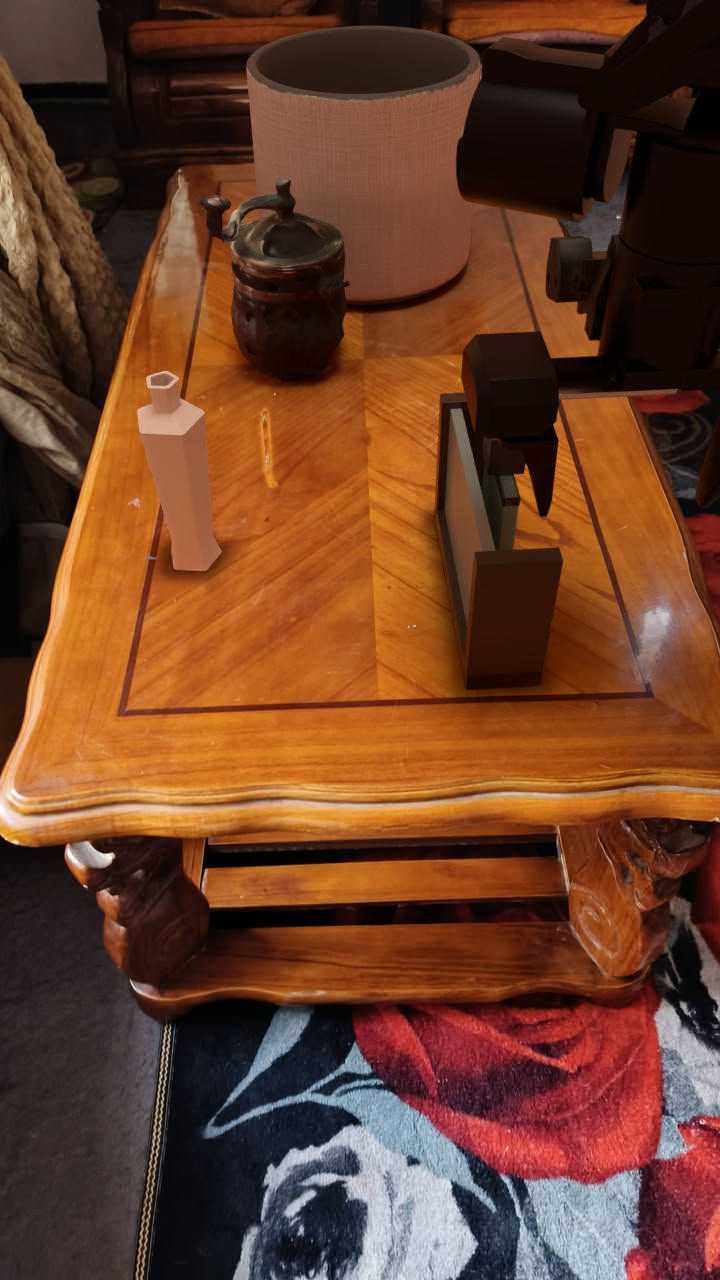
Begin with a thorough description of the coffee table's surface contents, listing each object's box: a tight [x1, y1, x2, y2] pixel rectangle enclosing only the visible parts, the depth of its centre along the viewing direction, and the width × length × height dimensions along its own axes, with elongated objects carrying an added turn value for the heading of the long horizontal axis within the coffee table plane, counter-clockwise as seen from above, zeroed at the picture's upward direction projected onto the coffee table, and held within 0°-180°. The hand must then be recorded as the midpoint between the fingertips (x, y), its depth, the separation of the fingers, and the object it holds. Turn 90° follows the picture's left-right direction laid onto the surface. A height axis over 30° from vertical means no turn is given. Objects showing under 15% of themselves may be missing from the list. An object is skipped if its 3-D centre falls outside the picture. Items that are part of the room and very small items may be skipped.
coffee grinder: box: [198, 178, 350, 382], centre depth 84 cm, size 13×15×18 cm
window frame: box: [433, 391, 564, 691], centre depth 65 cm, size 5×18×11 cm, turn 3°
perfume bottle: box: [136, 370, 223, 572], centre depth 67 cm, size 5×4×15 cm
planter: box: [245, 25, 481, 306], centre depth 98 cm, size 23×23×20 cm
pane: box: [482, 437, 526, 551], centre depth 65 cm, size 2×7×11 cm, turn 3°
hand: (621, 507), depth 55 cm, fingers open, 9 cm apart
